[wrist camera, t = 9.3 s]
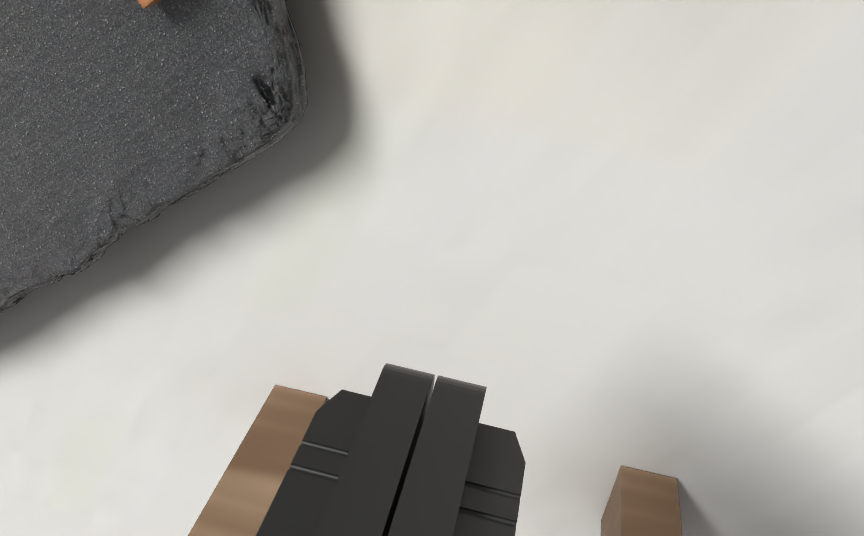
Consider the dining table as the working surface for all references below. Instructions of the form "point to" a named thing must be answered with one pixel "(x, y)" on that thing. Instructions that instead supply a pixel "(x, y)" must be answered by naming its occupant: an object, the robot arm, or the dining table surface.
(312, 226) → the dining table surface
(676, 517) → the bridge
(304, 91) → the serving board
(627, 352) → the dining table surface
